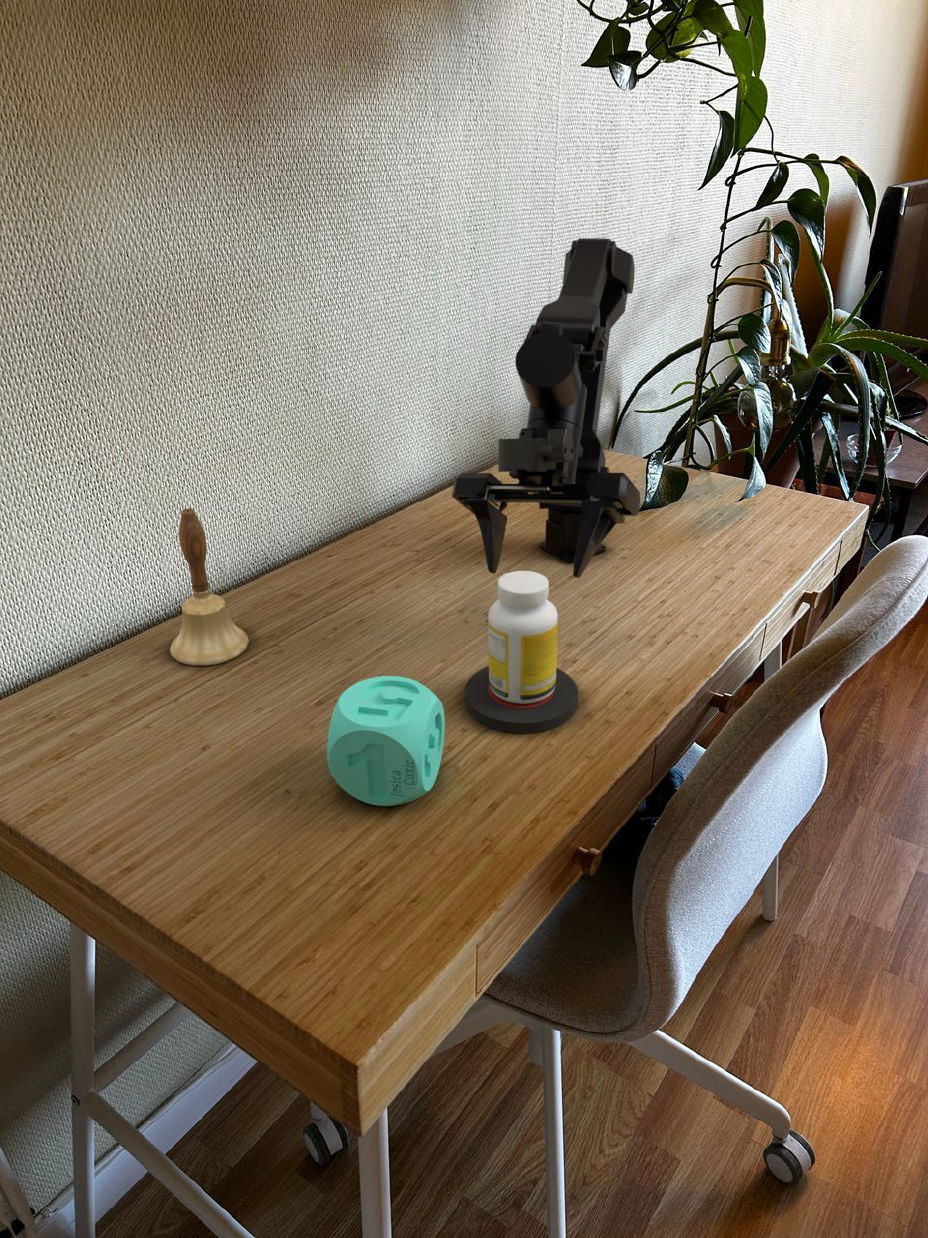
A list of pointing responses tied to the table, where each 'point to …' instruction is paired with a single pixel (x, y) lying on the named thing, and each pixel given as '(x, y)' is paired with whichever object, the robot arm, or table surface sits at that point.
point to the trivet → (520, 706)
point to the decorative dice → (386, 740)
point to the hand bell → (203, 608)
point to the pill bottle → (522, 639)
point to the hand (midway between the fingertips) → (533, 574)
